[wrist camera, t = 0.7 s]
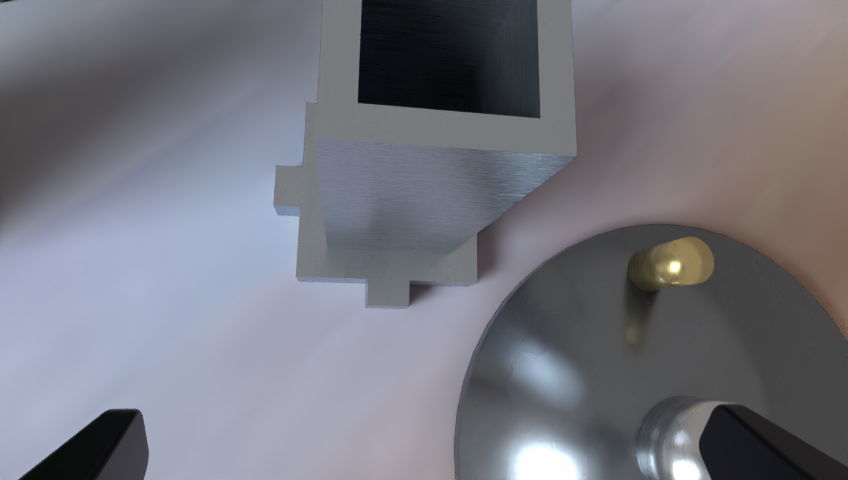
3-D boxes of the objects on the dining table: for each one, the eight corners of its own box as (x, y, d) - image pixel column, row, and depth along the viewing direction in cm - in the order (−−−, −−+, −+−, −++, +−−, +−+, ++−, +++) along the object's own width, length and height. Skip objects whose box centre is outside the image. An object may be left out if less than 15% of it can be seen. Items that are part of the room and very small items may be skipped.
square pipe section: (490, 310, 22) (688, 272, 10) (271, 305, 21) (172, 252, 8) (488, 112, 24) (655, -139, 11) (286, 95, 23) (222, -212, 10)
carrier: (730, 813, 20) (824, 925, 16) (355, 490, 20) (359, 526, 16) (927, 410, 25) (1036, 423, 21) (622, 147, 25) (675, 111, 21)
